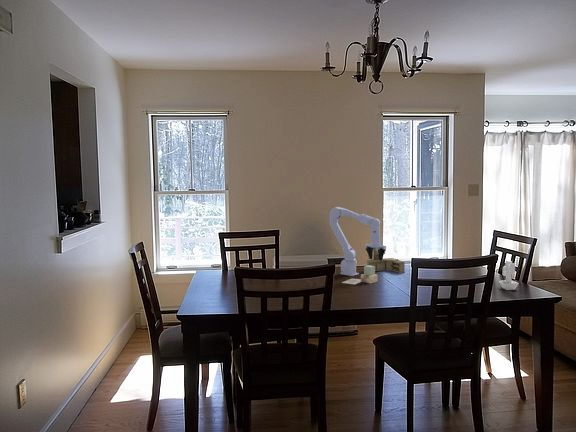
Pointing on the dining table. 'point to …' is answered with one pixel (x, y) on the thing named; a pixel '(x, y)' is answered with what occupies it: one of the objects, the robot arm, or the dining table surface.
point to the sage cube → (369, 270)
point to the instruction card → (352, 281)
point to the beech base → (369, 278)
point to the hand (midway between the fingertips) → (375, 259)
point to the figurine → (509, 276)
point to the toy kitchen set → (386, 263)
